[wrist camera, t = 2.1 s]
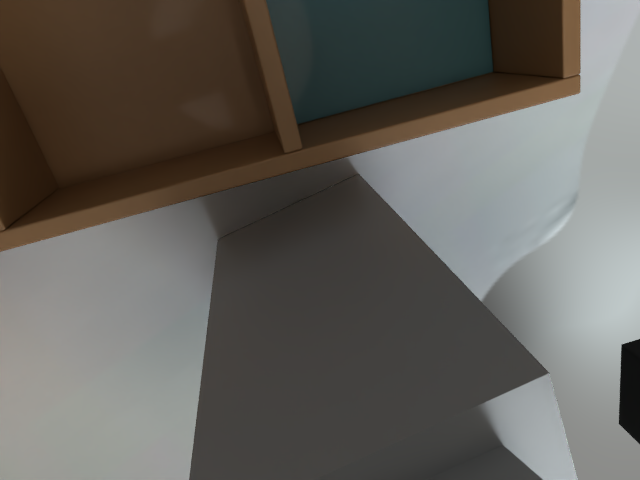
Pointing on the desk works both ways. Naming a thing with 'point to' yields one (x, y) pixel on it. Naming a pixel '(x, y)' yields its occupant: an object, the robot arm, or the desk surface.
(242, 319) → the perfume bottle
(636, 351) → the robot arm
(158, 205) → the bottle tray
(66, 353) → the desk surface
